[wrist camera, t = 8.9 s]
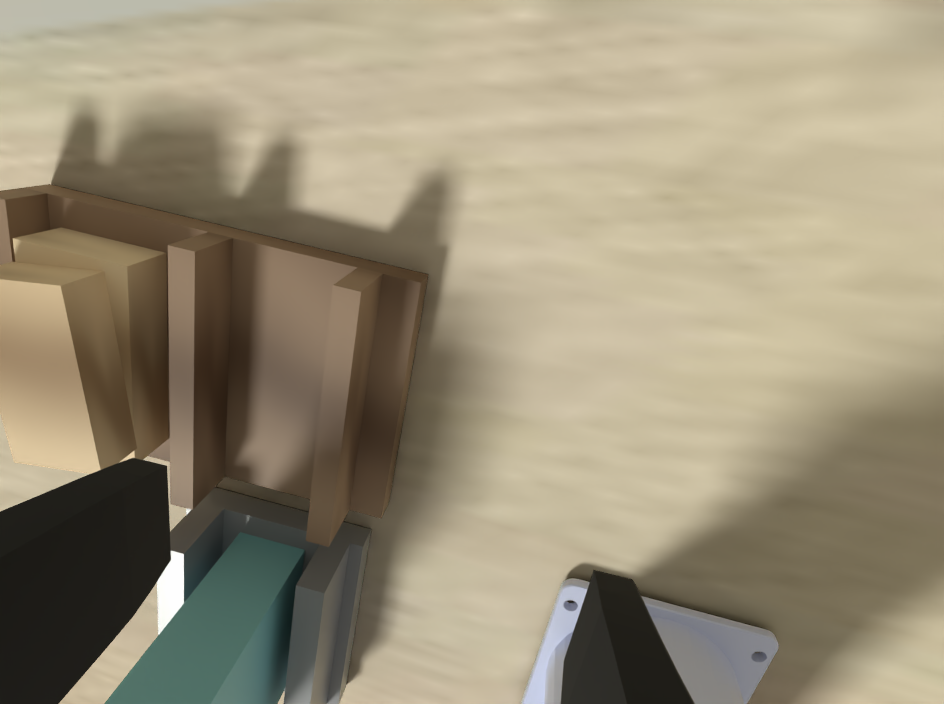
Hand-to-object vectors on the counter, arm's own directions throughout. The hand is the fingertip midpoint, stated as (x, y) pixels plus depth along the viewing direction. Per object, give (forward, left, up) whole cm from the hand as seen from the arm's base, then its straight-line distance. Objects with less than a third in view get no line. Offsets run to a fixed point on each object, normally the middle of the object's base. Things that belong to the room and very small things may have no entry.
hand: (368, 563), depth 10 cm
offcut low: (-3, +12, -9) cm, 15 cm away
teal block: (-13, +6, -9) cm, 17 cm away
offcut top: (-3, +12, -8) cm, 14 cm away
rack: (-3, +8, -10) cm, 13 cm away
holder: (-13, +6, -10) cm, 18 cm away
